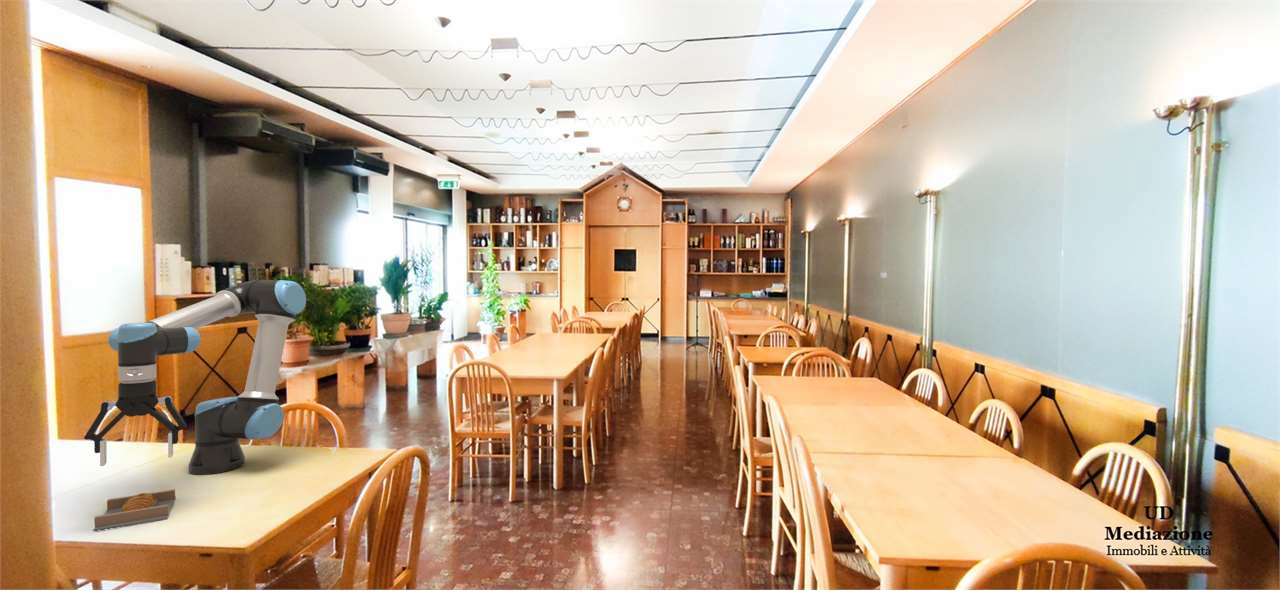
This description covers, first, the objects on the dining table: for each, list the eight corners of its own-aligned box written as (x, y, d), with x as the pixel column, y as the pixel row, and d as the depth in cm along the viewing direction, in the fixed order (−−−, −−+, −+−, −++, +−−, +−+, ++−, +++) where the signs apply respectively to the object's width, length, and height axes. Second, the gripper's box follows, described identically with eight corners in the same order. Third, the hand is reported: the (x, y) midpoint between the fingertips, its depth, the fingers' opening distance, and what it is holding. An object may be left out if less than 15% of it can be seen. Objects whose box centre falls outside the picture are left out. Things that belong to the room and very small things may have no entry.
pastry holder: (175, 498, 158) (175, 487, 158) (167, 519, 144) (167, 507, 144) (109, 509, 150) (109, 497, 150) (93, 532, 136) (93, 519, 136)
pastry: (150, 515, 145) (150, 501, 145) (115, 521, 141) (115, 506, 141) (158, 503, 153) (157, 490, 153) (125, 508, 149) (125, 494, 149)
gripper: (67, 387, 137) (68, 472, 137) (195, 378, 151) (195, 456, 151) (76, 382, 143) (76, 464, 143) (198, 375, 157) (198, 449, 157)
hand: (137, 460), depth 147 cm, fingers open, 13 cm apart
